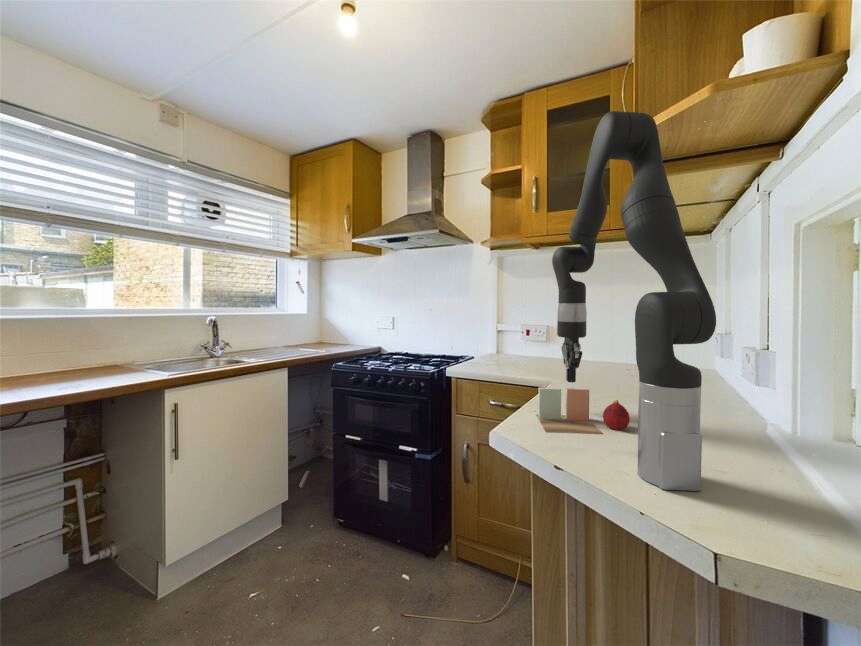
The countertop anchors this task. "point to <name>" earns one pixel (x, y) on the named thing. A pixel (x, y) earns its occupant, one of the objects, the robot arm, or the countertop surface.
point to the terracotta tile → (577, 403)
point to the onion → (616, 416)
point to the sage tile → (549, 403)
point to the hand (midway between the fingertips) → (570, 381)
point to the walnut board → (569, 426)
